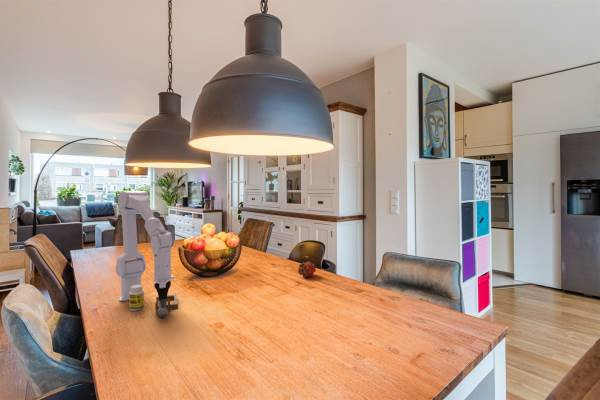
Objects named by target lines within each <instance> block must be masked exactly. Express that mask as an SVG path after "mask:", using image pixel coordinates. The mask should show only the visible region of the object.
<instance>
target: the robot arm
mask: <svg viewBox="0 0 600 400" xmlns="http://www.w3.org/2000/svg"><path fill="white" fill-rule="evenodd" d="M149 203H150V196H149V194H148V192H147V191H146V190H142V191H140V190H137V191H135V190H130V191H129V190H121V191H120V192H119V194H118V195H117V208H118V212H120V213H121V222H122V223H121V224H122V225H121V226H122V241H123V242H122V243H123V244H122V245H123V253H122V254H121V255H120V256H118V257H117V258H116V264H115V273H116V275H117V276H118V277H119V278H120V281H121V287H120V288H121V289H120V290H121V293H120V294H121V296H120V297H119V299H118V301H119V302H124V301H129V293H130V292H131V291H130V287H131V286H134V285H142V275H143V274H144V272H145V271H146V268H147V264H146V263H147V262H146V261H145V256H144V254H142V253H141V252H139V248H138V247H139V246H138V232H137V231H138V230H137V213H139V215H140V216H141V217H142V219H143V220H144V229H145V230H146V232H147V234H148V236H149V238H150V241H149V242H150V243H149V244H150V247H151V253H152V255H153V271H154V272H153V282H154V284H153V286H154V288H155V290H156V292H157V297H159V299H164V298H166V301H168V300H167V296H168V293H169V290H170V288H171V285H172V280H174V279H175V275H172V250H171V249H172V248H173V247H174V244H175V236H174V234H173V233H172V232H170V231H168V230H166V228H165V227H164V225H163V223H162V221H161V220H160V219H159V218H158V217H155V215H154V212H153V210H152V208H151V206H150V204H149Z"/></svg>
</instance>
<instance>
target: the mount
mask: <svg viewBox="0 0 600 400" xmlns="http://www.w3.org/2000/svg"><path fill="white" fill-rule="evenodd" d="M172 300H173V303H171V301H172ZM166 301H167V310H168V313H170V312H171V310H174V309H178V308H179V305H178V304H179V303H178V295H177V294H170V295H168V294H167V300H166ZM154 303H155V309H154V310H155V314H156V315H157V313H158V311H159V297H158V296H156V297H155V302H154Z"/></svg>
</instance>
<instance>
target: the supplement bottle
mask: <svg viewBox="0 0 600 400" xmlns="http://www.w3.org/2000/svg"><path fill="white" fill-rule="evenodd" d="M130 291H131V292H130V293H129V300H128V302H129V305H128V309H129V310H130V311H133V312H134V311H140V310H143V309H144V308H145V302H144V301H145V300H144V297H145V295H144V294H145V292H144V290H143V285H142V284H141V285H134V286H131V287H130Z"/></svg>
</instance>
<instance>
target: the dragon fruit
mask: <svg viewBox="0 0 600 400" xmlns="http://www.w3.org/2000/svg"><path fill="white" fill-rule="evenodd" d="M298 266H299V267H298V271H297V272H298V273H299V275H301V276H302V277H303V278H305V277H307V278H308V277H309V278H313V277H314V274H315V272H316V270H317V269H316V266H315V263H312V262H311V261H305V262H302V263H300V264H298Z"/></svg>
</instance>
